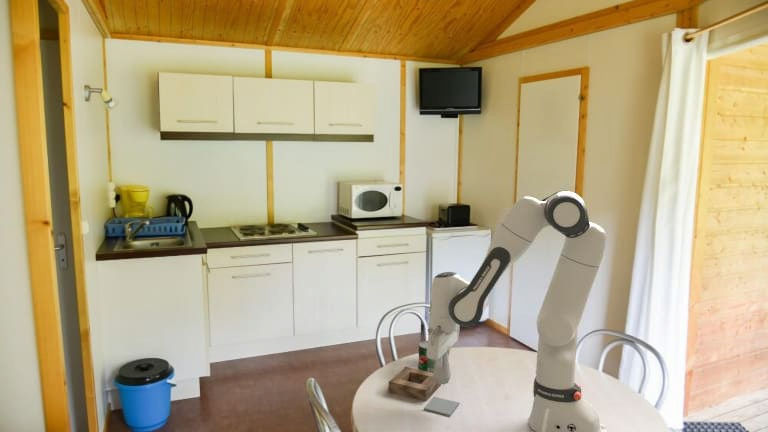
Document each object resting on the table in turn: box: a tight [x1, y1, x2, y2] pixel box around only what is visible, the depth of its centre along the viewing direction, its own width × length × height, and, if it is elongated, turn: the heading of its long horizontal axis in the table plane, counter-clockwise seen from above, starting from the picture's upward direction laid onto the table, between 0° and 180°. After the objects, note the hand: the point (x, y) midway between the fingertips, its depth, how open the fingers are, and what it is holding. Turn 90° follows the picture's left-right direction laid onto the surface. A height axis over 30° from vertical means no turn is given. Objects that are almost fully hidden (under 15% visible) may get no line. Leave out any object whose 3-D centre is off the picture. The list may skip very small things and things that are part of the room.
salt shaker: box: [433, 345, 452, 385], centre depth 163 cm, size 6×6×13 cm
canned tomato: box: [417, 340, 436, 373], centre depth 191 cm, size 8×8×11 cm
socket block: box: [388, 366, 442, 402], centre depth 177 cm, size 14×14×4 cm
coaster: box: [423, 396, 460, 417], centre depth 165 cm, size 9×9×1 cm
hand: (442, 363), depth 163 cm, fingers closed on salt shaker, 4 cm apart
